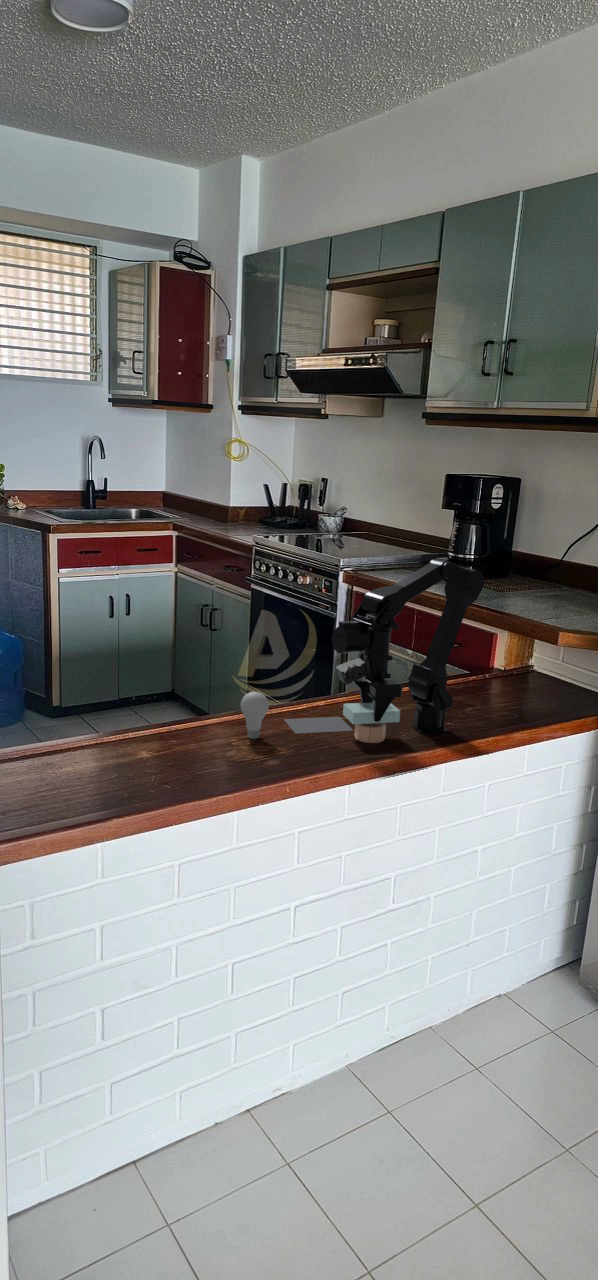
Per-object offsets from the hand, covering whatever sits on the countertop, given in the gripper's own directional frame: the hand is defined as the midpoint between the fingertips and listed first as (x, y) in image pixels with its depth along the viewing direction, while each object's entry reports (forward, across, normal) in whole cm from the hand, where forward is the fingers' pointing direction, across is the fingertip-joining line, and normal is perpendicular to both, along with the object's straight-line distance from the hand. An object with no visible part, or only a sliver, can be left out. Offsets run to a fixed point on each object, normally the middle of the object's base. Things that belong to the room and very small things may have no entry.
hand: (371, 716), depth 195 cm
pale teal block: (0, 0, 0) cm, 0 cm away
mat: (+6, -10, -9) cm, 15 cm away
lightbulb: (+6, -4, -26) cm, 27 cm away
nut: (+6, 0, 0) cm, 6 cm away
